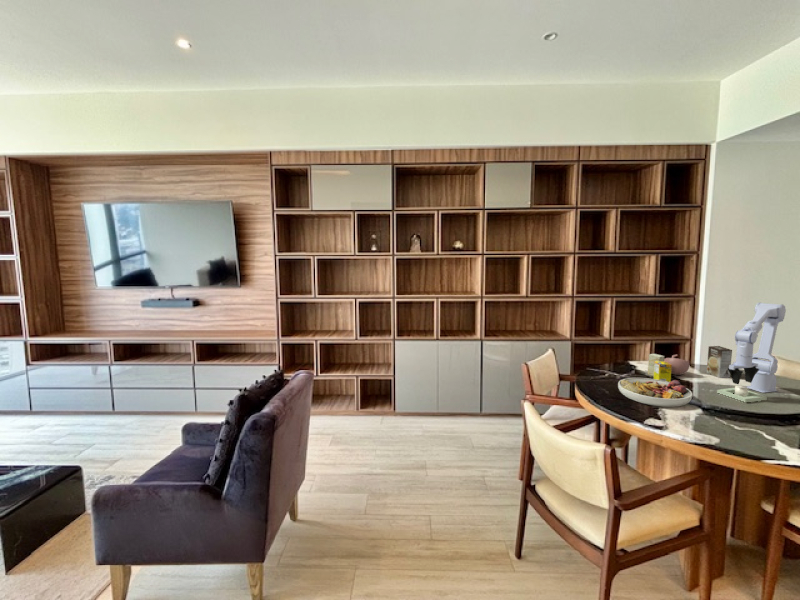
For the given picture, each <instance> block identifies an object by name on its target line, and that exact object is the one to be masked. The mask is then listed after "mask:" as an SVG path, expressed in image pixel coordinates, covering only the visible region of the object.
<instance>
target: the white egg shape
mask: <svg viewBox="0 0 800 600" xmlns="http://www.w3.org/2000/svg"><path fill="white" fill-rule="evenodd" d="M734 388H735V393H734V394H736V395H739V396H742V397H749V396H748V391H749V388H748V387H747V386H744V385H739V384H735V385H734Z"/></svg>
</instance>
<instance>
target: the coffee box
mask: <svg viewBox="0 0 800 600" xmlns="http://www.w3.org/2000/svg"><path fill="white" fill-rule="evenodd" d="M732 357H733V349H730V348H727V347H723V346H721V345H716V346H715V345H713V346H712V345H710V346H708V351H707V362H706V363H707V364H706V374H709V375H712V376H714V377H717V378H718V379H726V378H730V377H731V374H730V372H729V371H728V368H729V365H732Z"/></svg>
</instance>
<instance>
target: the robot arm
mask: <svg viewBox="0 0 800 600" xmlns="http://www.w3.org/2000/svg"><path fill="white" fill-rule="evenodd" d="M786 311H787V309H786V306H785V305H784V304H783V303H780V304H778V303H769V302H768V303H766V302H757V303H756V305H755V307H754V312H755V314H754V316H753V318H752V320H748V321H747V322H746V323H745V325H744V326H743V327H742V328H741V329H739V330H737V331H735V334H734V340H735V346H736V350H735V351H736V353H735V361H734V362H733V363H731V365H729V368H728V371H729V372H730V377H731V379H732V383H733V384H735V385H739V384H740V380H741V377H742V374H743V373H744V381H745V382H747V383H749V384H750V385H748V386H746V387H748V390H749V389H750V390H751V391H752V390H753V391H756V392H760V393H763V394H764V393H765V394H766V393H772V392H773V393H774V392H778V389H777V379H778V378H777V376H776V375H775V373H776V372H777V371H778V368H779V367H778V364H779V363H778V362H779V361H778V359H777V358H776V357H775V356H773V355H772V351H773V349H774V348H773V347H774V344H775V339H776V335H777V331H778V330H777V329H778V326H779V323H782V322H784V319H785V316H786ZM761 330H762V332H761V336H760V341H759V345H758V346H759V347H758V349H757V352H756V353H754V345H755V343H756V342H757V339H758V336H759V335H758V334H759V333H760V331H761ZM741 369H744V371H743V370H741Z"/></svg>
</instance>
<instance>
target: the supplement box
mask: <svg viewBox="0 0 800 600" xmlns="http://www.w3.org/2000/svg"><path fill="white" fill-rule="evenodd" d="M671 367H672V365H671V364H669V363H668V362H660V361H655V362H654V376H653V379H657V380H662V381H667V382H671V381H672V373H671Z"/></svg>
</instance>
